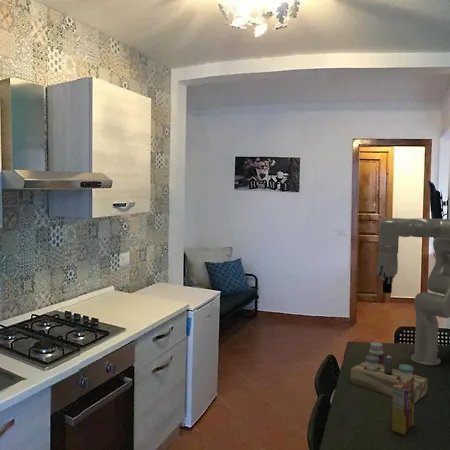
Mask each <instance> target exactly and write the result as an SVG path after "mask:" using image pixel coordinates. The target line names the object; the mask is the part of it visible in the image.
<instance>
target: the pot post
mask: <svg viewBox="0 0 450 450" xmlns="http://www.w3.org/2000/svg"><path fill="white" fill-rule="evenodd" d="M384 366H385V368H384V373H385V374H387V375H392V369H394V368H393V367H394V358H393V356H392V355H389V354H386V355H385V357H384Z"/></svg>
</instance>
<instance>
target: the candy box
mask: <svg viewBox="0 0 450 450" xmlns="http://www.w3.org/2000/svg"><path fill="white" fill-rule="evenodd" d="M414 404H415V403H414V381H413V380H410V379H405V378H402V379H401V380H400V381H398V382H397V383H396V384H395V385H394V386H393V397H392V415H391V416H392V422H391V425H392V426H391V427H392V428H391V430H392V432H395V433H399V434H401V435H405V434H406V433H407V432H408V431H409V430H410V428H411V427H412V426H413V425H414V407H415V405H414Z"/></svg>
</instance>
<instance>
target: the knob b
mask: <svg viewBox="0 0 450 450" xmlns="http://www.w3.org/2000/svg"><path fill="white" fill-rule="evenodd" d="M398 370H399V371H400V377H399V380H401V379H402V378H405V379H410V380H412V374H413V371H414V367H413V365H410V364H404V363H403V364H399V365H398Z"/></svg>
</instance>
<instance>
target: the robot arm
mask: <svg viewBox="0 0 450 450" xmlns="http://www.w3.org/2000/svg"><path fill="white" fill-rule="evenodd" d="M400 237H402V238H409V237H413V238H434V239H433V242H432V247H433V251H434V255H435V263H434V266H433V268H432V270H431V272H430V274H429V276H428V278H427V281H426V289H428V292H427V291H421V292H419V293H417V294H416V295H415V296H414V301H413V304H414V310H415V333H414V336H415V339H414V353H413V354H412V355H410V359H411V361H413V362H414V363H416V364H420V365H424V366H438V365H440V364H441V362H442V361H441V359H440V358H439V357H438V353H439V349H438V346H439V345H438V343H439V340H438V339H439V321H438V318H437V317H439V318H443V319H449V318H450V218H449V219H448V218H447V219H446V218H427V217H424V218H423V217H416V218H415V217H414V218H409V217H408V218H397V217H388V218H385V219H383V220H381V221H380V223H379V244H378V245H379V247H378V250H379V251H378V257H377V258H378V259H377V264H376V265H377V267H376V276H377V277H380V280H381V281H382V293H384V294H392V292H393V282H394V278H395V276H396V275H397V274H398V268H399V267H398V266H399V265H398V264H399V263H398V261H399V259H398V254H399V241H400V239H399V238H400ZM429 291H430V292H429Z"/></svg>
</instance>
